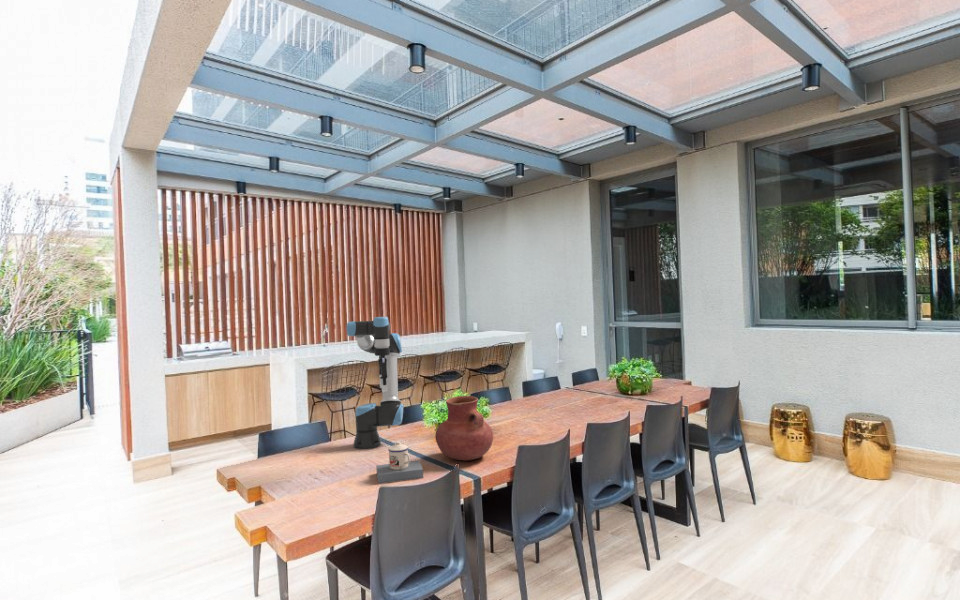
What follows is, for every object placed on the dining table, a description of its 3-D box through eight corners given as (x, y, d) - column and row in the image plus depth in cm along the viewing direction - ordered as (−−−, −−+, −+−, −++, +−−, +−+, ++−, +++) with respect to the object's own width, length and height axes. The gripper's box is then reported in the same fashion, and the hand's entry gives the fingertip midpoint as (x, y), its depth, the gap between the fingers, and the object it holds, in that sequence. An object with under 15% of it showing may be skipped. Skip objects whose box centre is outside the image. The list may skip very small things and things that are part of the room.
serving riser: (376, 473, 236) (376, 465, 236) (419, 468, 241) (418, 460, 241) (378, 484, 222) (378, 475, 222) (423, 478, 227) (423, 469, 227)
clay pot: (425, 458, 257) (422, 399, 257) (469, 445, 276) (466, 391, 276) (461, 471, 234) (458, 407, 235) (506, 456, 254) (503, 397, 254)
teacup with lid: (385, 468, 231) (383, 442, 231) (399, 462, 238) (398, 438, 238) (402, 472, 224) (401, 446, 224) (417, 467, 231) (416, 441, 231)
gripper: (373, 346, 264) (374, 386, 264) (375, 349, 240) (377, 394, 240) (387, 345, 266) (389, 385, 266) (391, 348, 242) (393, 392, 242)
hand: (383, 389), depth 253 cm, fingers open, 13 cm apart
